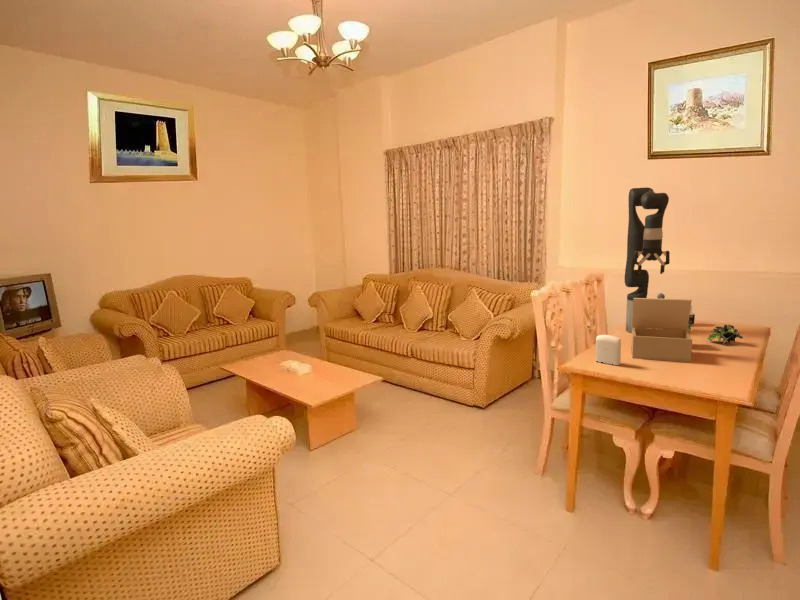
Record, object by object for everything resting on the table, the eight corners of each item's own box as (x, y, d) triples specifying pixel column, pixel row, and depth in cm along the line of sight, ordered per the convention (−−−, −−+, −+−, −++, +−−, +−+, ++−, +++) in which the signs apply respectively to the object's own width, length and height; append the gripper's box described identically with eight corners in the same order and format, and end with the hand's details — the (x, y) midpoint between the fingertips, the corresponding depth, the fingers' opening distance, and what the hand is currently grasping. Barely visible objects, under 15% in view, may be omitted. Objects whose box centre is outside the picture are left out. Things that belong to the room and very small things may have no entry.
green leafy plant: (727, 353, 218) (747, 334, 213) (723, 354, 210) (743, 335, 205) (706, 336, 224) (725, 318, 219) (701, 337, 217) (721, 318, 211)
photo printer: (593, 361, 198) (594, 334, 196) (597, 359, 201) (598, 332, 199) (618, 366, 191) (619, 338, 189) (621, 363, 194) (623, 336, 192)
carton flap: (631, 327, 214) (631, 319, 219) (687, 330, 204) (685, 322, 209) (633, 298, 206) (633, 291, 211) (691, 300, 196) (689, 292, 201)
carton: (631, 348, 215) (632, 327, 214) (685, 351, 206) (686, 330, 204) (632, 357, 201) (633, 336, 199) (690, 362, 192) (692, 339, 190)
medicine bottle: (680, 326, 249) (681, 305, 247) (674, 323, 256) (675, 302, 254) (694, 326, 248) (695, 305, 245) (688, 323, 254) (689, 302, 252)
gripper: (669, 237, 206) (667, 272, 209) (634, 237, 212) (632, 272, 215) (671, 238, 199) (669, 275, 203) (635, 239, 205) (633, 274, 208)
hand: (650, 273), depth 209 cm, fingers open, 8 cm apart
